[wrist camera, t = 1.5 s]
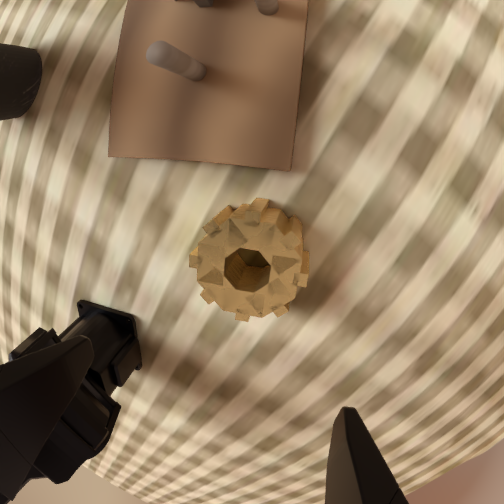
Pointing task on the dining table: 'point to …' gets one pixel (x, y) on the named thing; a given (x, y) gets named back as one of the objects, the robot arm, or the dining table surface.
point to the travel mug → (18, 79)
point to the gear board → (209, 81)
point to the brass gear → (249, 277)
